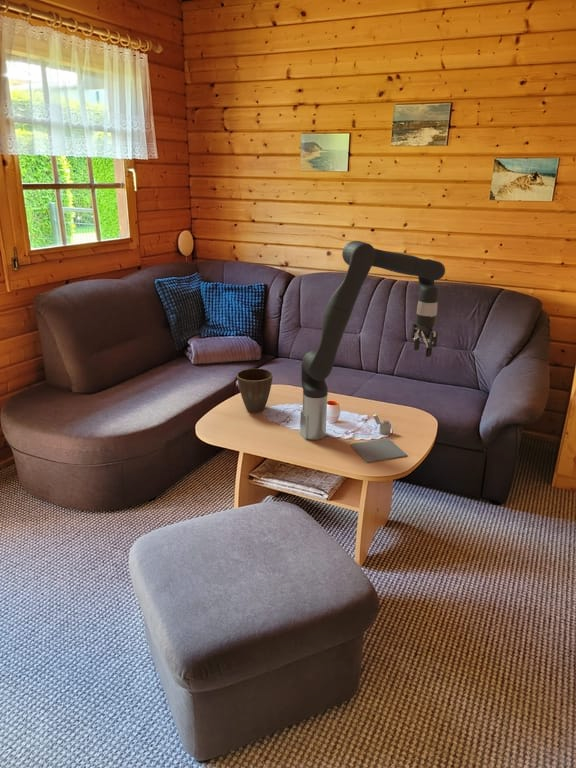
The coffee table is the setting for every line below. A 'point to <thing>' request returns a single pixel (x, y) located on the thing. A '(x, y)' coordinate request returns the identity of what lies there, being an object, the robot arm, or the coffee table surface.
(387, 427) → the lighter
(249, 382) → the plant pot
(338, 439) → the coffee table surface
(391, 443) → the mat
